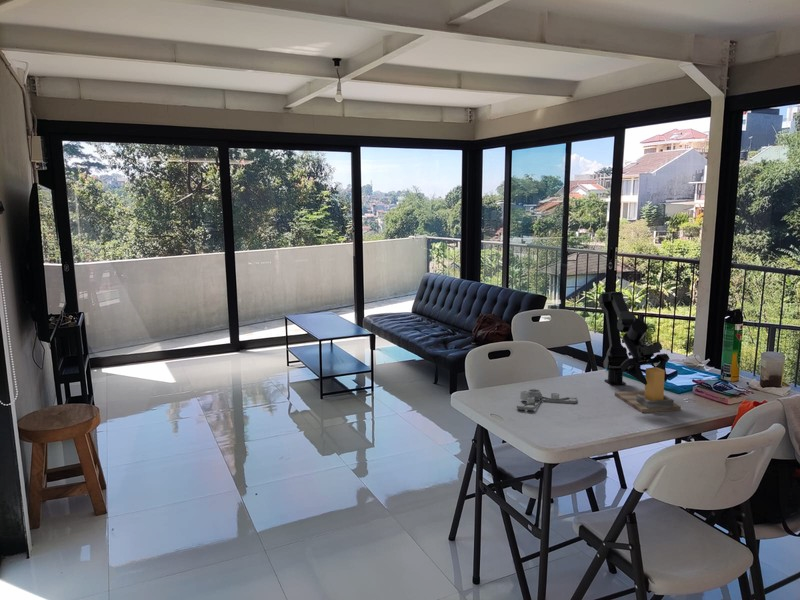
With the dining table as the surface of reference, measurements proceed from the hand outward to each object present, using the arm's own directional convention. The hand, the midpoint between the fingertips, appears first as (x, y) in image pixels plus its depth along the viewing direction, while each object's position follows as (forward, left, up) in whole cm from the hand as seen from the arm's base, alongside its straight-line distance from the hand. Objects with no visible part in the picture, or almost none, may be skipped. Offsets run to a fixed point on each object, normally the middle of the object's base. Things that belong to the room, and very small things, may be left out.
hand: (656, 382), depth 214 cm
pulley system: (-14, -38, -10) cm, 42 cm away
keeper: (-6, 0, -9) cm, 11 cm away
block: (-1, 0, -8) cm, 8 cm away
